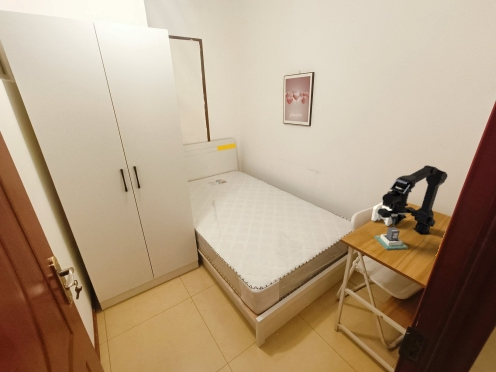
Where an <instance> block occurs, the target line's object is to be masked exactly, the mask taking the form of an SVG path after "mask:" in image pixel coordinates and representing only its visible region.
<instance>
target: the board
mask: <svg viewBox="0 0 496 372" xmlns="http://www.w3.org/2000/svg"><path fill="white" fill-rule="evenodd" d="M381 235H382V234H380V235H378V234H377V235H374V236H373V237H374V239H375V240H376V241H377V242H379V244H380V245H381V246H382V247H383V248H384V249H385V250H386V251H391V250H408V249H409V246H408V245H407V244H405V243H404V242H403V241H402V245H393V246H388V245H387V244H386V243H385V242H384V241H383V240H382V239H381V238H380V237H381Z"/></svg>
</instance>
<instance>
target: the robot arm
mask: <svg viewBox="0 0 496 372" xmlns="http://www.w3.org/2000/svg"><path fill="white" fill-rule="evenodd" d="M424 179H425V182H426V184H427V187H426V190H425V193H424V196H423V201H422V203H421V207H419V208H418V209H415V208H414V207H412V206H409V204H408V203H407V202H408V199H409V195H410V193H412V190H413V188H415V187H416V184H417V183H419V182H421V181H422V180H424ZM447 179H448V173H447V172H446V171H444V170H443V171H442V170H441V169H439V168H437V167H436V166H434V165H433V166H432V165H427V164H426V165H424V166H423V167H422V168H421V169H419V170H417V171H414V172H413V173H411V174H408V175H401V176H399V177H397V178H396V179H395V181H394V182H393V183H392V185H391V186H390V188H389V190H391V191H387V193H385V194H383V196H382V202H383V205H384V206H386V207H389V209H392V210H391V211H388V210H387V209H386V208H383V209H378V212H377V213H378V214H379V215H381V216H382V217H383V218H389V217H391V218H392V227H397V226H398V224H400V223H401V222H403V220H405V219H407V218H408V216H406V214H410V216H411V217H414V221H416V223H415V227H413V228H412V229H413V230H414V231H415V232H417V233H418V234H419V235H431V233H432V232H431V231H430V228H432V227H434V226H435V224H436V220H435V219H434V215H435V214H434V211H433V207H434V204H435V200H436V197H437V194H438V190H439V188H440V186H442V184H444V183H445V182H446V180H447Z"/></svg>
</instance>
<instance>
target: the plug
mask: <svg viewBox="0 0 496 372" xmlns="http://www.w3.org/2000/svg"><path fill="white" fill-rule="evenodd" d="M385 234H386V239H387V240H388V241H397V240H398V238H399V236H400V230H398V228H397V227H396V226H392V227H387V231H386V233H385Z"/></svg>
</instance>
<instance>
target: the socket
mask: <svg viewBox="0 0 496 372" xmlns="http://www.w3.org/2000/svg"><path fill="white" fill-rule="evenodd" d="M386 234H387V233H385V234H380V235H381V237H380V238H381V239H382V240H383V241H384V242H385V243H386V244H387V245H388V246H393V245H402V242H403V240H402V239H400V238H399V237H398V240H397V241H388V240H387V239H386Z"/></svg>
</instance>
